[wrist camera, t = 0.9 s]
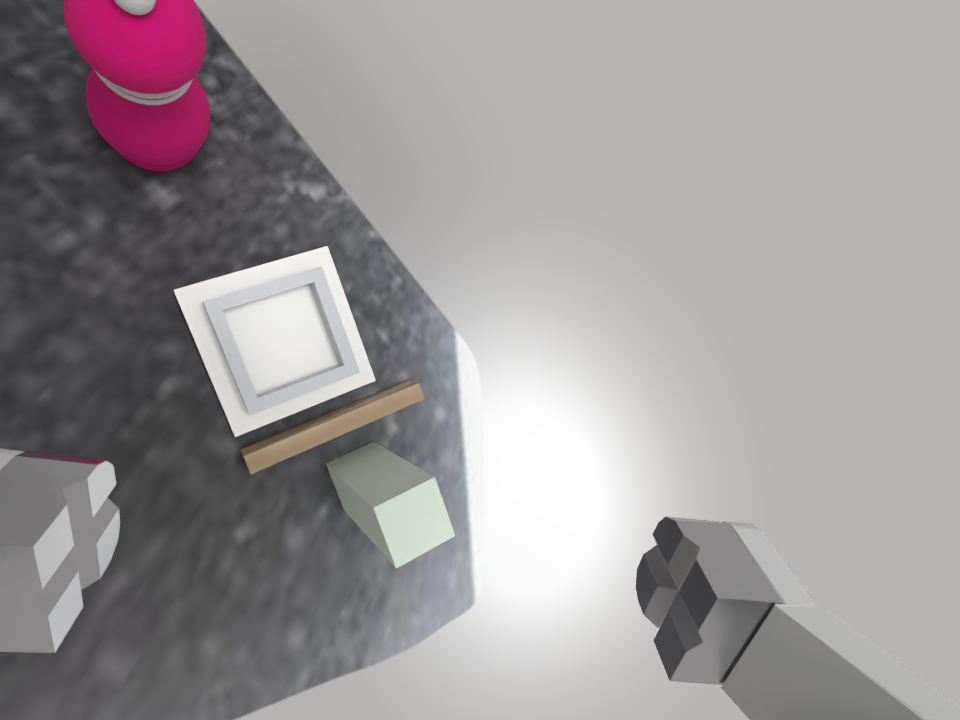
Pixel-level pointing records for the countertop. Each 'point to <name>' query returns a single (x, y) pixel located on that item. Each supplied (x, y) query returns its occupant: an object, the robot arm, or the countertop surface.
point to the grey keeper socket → (276, 338)
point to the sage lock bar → (391, 502)
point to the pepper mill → (143, 76)
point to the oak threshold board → (330, 425)
